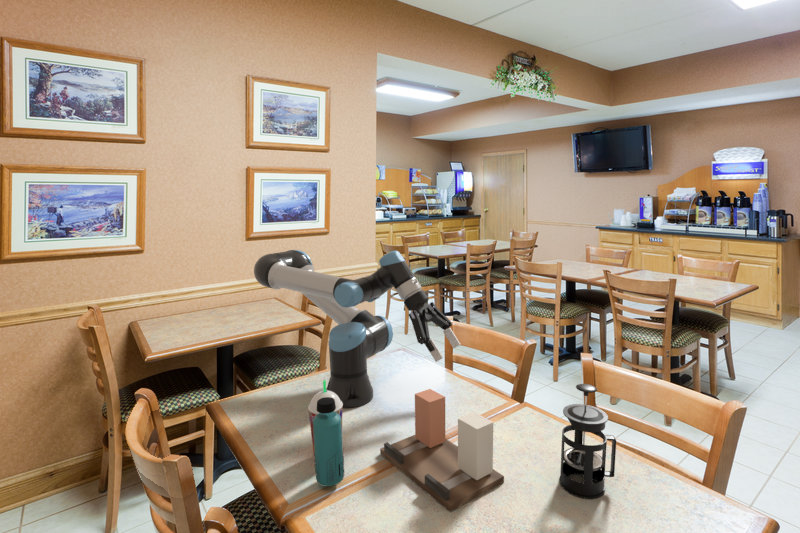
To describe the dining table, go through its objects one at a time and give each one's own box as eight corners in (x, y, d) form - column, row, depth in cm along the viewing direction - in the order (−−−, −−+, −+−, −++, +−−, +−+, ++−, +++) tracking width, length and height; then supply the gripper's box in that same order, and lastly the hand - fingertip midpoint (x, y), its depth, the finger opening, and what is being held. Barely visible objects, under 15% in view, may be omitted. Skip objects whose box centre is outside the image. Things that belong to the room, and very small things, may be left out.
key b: (430, 431, 118) (430, 388, 116) (445, 441, 113) (445, 396, 111) (415, 437, 115) (414, 393, 113) (430, 448, 110) (429, 402, 109)
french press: (560, 497, 95) (564, 394, 91) (552, 470, 104) (555, 376, 100) (619, 501, 93) (626, 397, 89) (605, 474, 102) (611, 378, 99)
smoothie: (350, 451, 113) (347, 376, 110) (335, 470, 106) (331, 389, 102) (321, 445, 116) (317, 372, 113) (304, 463, 108) (300, 385, 105)
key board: (429, 433, 121) (429, 421, 120) (503, 482, 100) (504, 467, 99) (380, 454, 112) (380, 441, 111) (450, 512, 91) (450, 496, 90)
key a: (473, 459, 105) (473, 411, 103) (492, 472, 100) (493, 422, 99) (457, 467, 102) (457, 418, 101) (476, 480, 98) (477, 429, 96)
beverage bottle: (342, 493, 97) (339, 406, 94) (312, 493, 97) (307, 407, 94) (346, 474, 104) (343, 393, 101) (318, 474, 104) (314, 393, 101)
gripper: (402, 296, 130) (441, 360, 126) (437, 282, 151) (472, 336, 148) (384, 309, 133) (422, 371, 130) (421, 293, 155) (455, 346, 151)
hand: (448, 352), depth 139 cm, fingers open, 13 cm apart
